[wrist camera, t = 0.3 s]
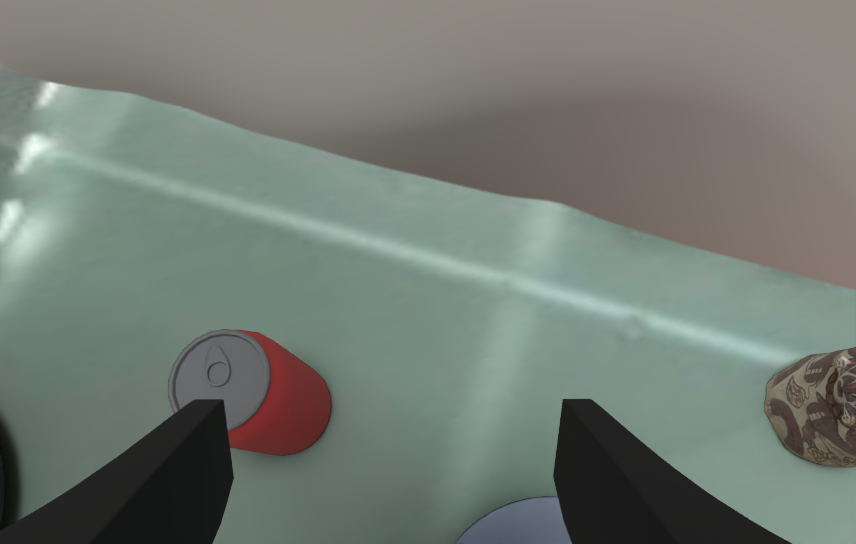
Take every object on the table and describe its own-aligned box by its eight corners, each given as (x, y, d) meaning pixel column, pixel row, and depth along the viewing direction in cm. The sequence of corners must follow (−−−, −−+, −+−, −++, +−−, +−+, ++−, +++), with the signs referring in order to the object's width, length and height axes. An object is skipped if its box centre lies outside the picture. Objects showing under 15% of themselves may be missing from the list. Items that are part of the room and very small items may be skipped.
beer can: (321, 352, 43) (264, 303, 31) (343, 438, 40) (290, 419, 29) (236, 380, 42) (149, 341, 31) (254, 469, 40) (166, 462, 29)
